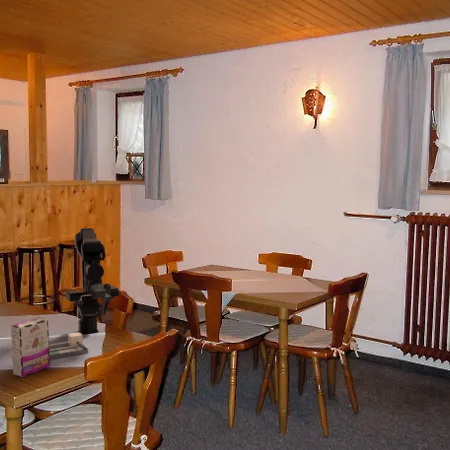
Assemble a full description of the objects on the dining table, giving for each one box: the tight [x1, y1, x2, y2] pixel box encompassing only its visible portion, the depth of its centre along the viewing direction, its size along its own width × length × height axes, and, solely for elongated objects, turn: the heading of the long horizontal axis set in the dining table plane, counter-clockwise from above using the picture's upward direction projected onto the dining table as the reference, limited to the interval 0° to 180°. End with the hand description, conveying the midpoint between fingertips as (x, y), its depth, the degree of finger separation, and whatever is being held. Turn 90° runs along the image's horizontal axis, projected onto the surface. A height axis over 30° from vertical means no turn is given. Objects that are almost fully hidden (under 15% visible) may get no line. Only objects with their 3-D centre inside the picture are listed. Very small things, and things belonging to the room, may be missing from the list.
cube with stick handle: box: [67, 331, 84, 346], centre depth 196 cm, size 4×8×4 cm, turn 33°
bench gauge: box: [49, 340, 89, 360], centre depth 194 cm, size 19×13×5 cm
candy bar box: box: [10, 316, 51, 378], centre depth 175 cm, size 11×5×16 cm, turn 148°
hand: (93, 316), depth 201 cm, fingers open, 8 cm apart
